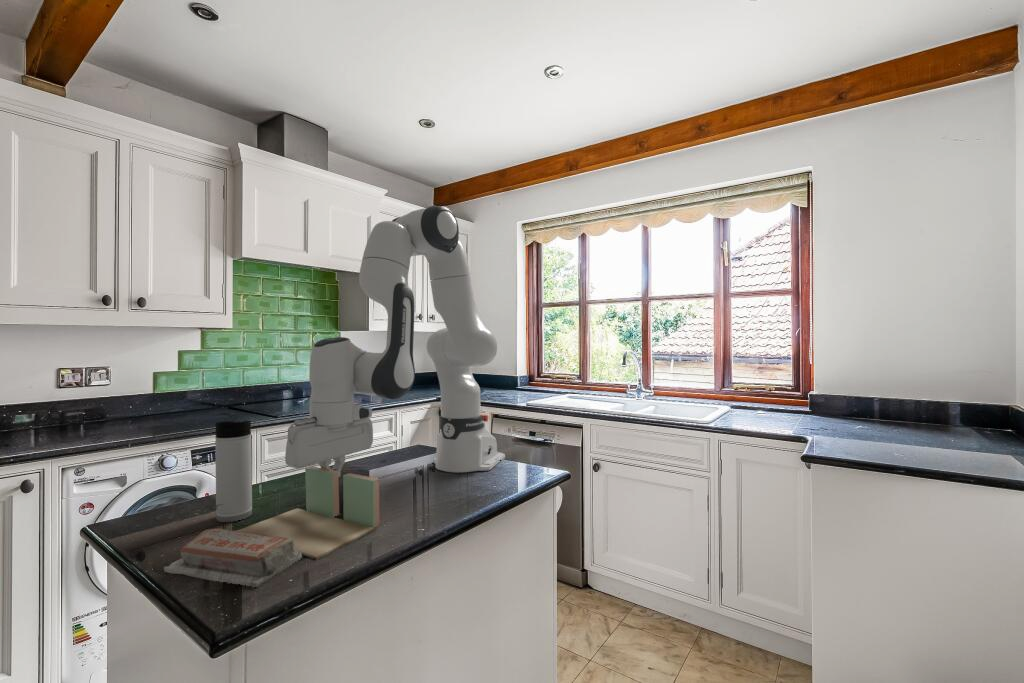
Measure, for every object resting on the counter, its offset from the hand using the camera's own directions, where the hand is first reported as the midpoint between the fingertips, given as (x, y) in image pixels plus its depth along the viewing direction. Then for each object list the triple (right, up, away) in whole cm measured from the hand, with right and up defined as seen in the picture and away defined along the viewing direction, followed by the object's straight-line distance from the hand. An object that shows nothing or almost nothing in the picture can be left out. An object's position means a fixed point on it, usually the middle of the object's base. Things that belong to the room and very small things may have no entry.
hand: (332, 478), depth 99 cm
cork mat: (-1, -6, -12) cm, 13 cm away
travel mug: (-18, -7, -5) cm, 20 cm away
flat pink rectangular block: (-1, -6, -2) cm, 7 cm away
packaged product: (-6, -7, -24) cm, 26 cm away
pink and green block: (+9, -6, -8) cm, 13 cm away
